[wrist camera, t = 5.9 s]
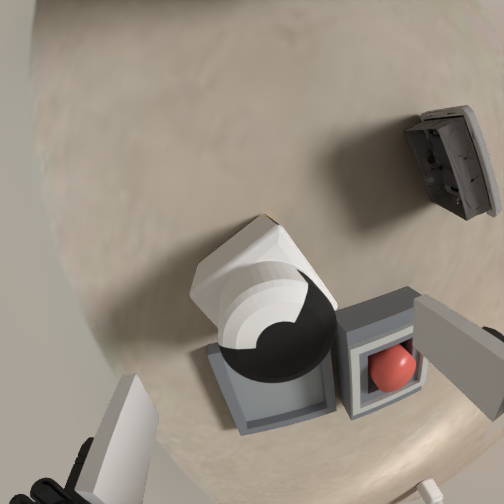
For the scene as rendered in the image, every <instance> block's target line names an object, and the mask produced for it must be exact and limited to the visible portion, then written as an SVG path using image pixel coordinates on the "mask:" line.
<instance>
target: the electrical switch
mask: <svg viewBox="0 0 504 504" xmlns="http://www.w3.org/2000/svg"><path fill="white" fill-rule="evenodd" d="M420 119H421V121H422V122H421V123H418V124H416V125H414V126H413V127H411V128H409V129H407V130H404V133H405V135H406V138H407V140H408V142H409V144H410V147H411V149H412V151H413V154H414V156H415V159H416V161H417V164H418V166H419V169H420V171H421V174H422V177H423V179H424V182H425V185H426V188H427V191H428V193H429V196H430V199H431V201H432V202H434V203H436V204H438V205H440V206H441V207H443V208H445V209H447V210H449V211H450V212H452V213H454V214H456V215H458V216H459V217H461V218H463V219H464V220H466V221H467V220H469V219H471V218H473V217H474V216H476V215H479V214H483V213H484V212H487V214H488V215H490V216H492V217H495V216H497V215H498V214H499V213H500V212H501V210H502V206H501V201H500V196H499V192H498V187H497V183H496V179H495V175H494V171H493V167H492V164H491V160H490V157H489V154H488V150H487V147H486V144H485V141H484V138H483V135H482V132H481V130H480V127H479V124H478V121H477V119H476V116H475V114H474V111H473V110H472V109H471V108H470V107H469V106H467V105H465V106H458V107H451V108H445V109H439V110H433V111H428V112H425V113H422V114H421V116H420ZM415 149H416V150H415ZM429 150H430V151H429ZM428 151H429V152H428ZM426 152H428V153H427V154H425V153H426ZM424 154H425V155H424ZM432 154H433V155H434V158H435V162H436V163H433V164H429V163H428V157H429V156H431V155H432ZM432 168H438V169H439V170H438V169H434V170H431V171H430V169H432ZM429 171H430V172H429ZM427 175H428V178H427ZM444 187H446V189H445V188H444ZM438 196H439V197H438ZM436 197H437V198H436ZM434 198H435V199H434ZM432 199H433V200H432ZM457 202H458V204H457Z"/></svg>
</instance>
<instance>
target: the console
mask: <svg viewBox="0 0 504 504" xmlns="http://www.w3.org/2000/svg"><path fill="white" fill-rule="evenodd" d="M419 296H421V294H419V293H418V292H416V291H415V290H413V289H411V288H410V287H408V286H407V287H405V288H402V289H399V290H397V291H394V292H391V293H388V294H386V295H383V296H380V297H377V298H374V299H371V300H368V301H365V302H362V303H359V304H356V305H353V306H350V307H347V308H344V309H341V310H338V311H335V314H336V319H337V331H336V337H335V340H334V342H335V352H336V361H337V372H338V383H339V396H340V400H341V402H342V404H343V406H344V407H345V409H346V411H347V413H348V415H349V417H350V419H351V420H354V419H357V418H359V417H362V416H364V415H367V414H369V413H372V412H374V411H377V410H379V409H381V408H384V407H386V406H388V405H391V404H393V403H395V402H397V401H399V400H401V399H403V398H406V397H408V396H410V395H412V394H414V393H416V392H418V391H420V390H421V386H422V385H424V384H425V380H426V374H427V368H428V360H427V359H426V358H425V357H424V356H423V355H422V354H421V353H420V352H419V351H418V350H417V349H415V348H414V347H413V346H412V344H413V320H414V298H417V297H419ZM396 344H400V345H401V346H402V347H403V348H404V349H405V350H406V351H407V352H408V353H409V354H410V355H411V356H412V357H413V358H414V359H415V361H416V369H415V372H414V374H413V376H412V377H411V378H410V380H409V381H408V382H407V383H406V384H405V385H404V386H402V387H401V388H399V389H398V390H396V391H393V392H382V391H381V390H380V389H379V388H378V387H377V385H376V384H375V382H374V381H373V380H372V378H371V377H370V375H369V374H368V356H369V355H372V354H374V353H377V352H379V351H382V350H384V349H387V348H389V347H392V346H394V345H396ZM207 356H208V359H209V362H210V364H211V367H212V369H213V372H214V374H215V377H216V379H217V382H218V384H219V387H220V389H221V392H222V394H223V396H224V399H225V401H226V403H227V406H228V408H229V410H230V413H231V415H232V417H233V419H234V422H235V424H236V426H237V428H238V431H239V433H240V435H241V436H243V435H248V434H253V433H258V432H262V431H267V430H271V429H275V428H280V427H284V426H287V425H291V424H295V423H299V422H302V421H306V420H309V419H313V418H316V417H319V416H322V415H325V414H328V413H331V412H334V411H336V399H335V388H334V378H333V368H332V359H331V350H330V351H329V353H328V354H327V356H326V357H325V358H324V359H323V360H322V362H321V363H320V364H319V365H318V366H317V367H315V368H314V369H313V370H312V371H310V372H309V373H307V374H305V375H304V376H302V377H299V378H297V379H295V380H291V381H288V382H283V383H262V382H257V381H253V380H250V379H247V378H245V377H243V376H241V375H240V374H238V373H237V372H235V371H234V370H233V369H232V368H231V367H230V366H229V365H228V364H227V363H226V361H225V360H224V358H223V356H222V354H221V352H220V348H219V344H218V343H214V344H209V345H208V349H207Z"/></svg>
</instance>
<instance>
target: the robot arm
mask: <svg viewBox="0 0 504 504" xmlns="http://www.w3.org/2000/svg"><path fill="white" fill-rule="evenodd" d="M412 346H413V347H414V348H415V349H417V350H418V351H419V352H420V353H421V354H422V355H423V356H424V357H425V358H426V359H427V360H429V361H430V362H431V363H432V364H433V365H434V366H435V367H436V368H437V369H438V370H439V371H440V372H441V373H443V374H444V375H445V376H446V377H447V378H448V379H449V380H450V381H451V382H452V383H453V384H454V385H455V386H456V387H457V388H458V389H459V390H460V391H461V392H463V393H464V394H465V395H466V396H467V397H468V398H469V399H470V400H471V401H472V402H473V403H474V404H475V405H476V406H477V407H478V408H479V409H480V410H481V411H482V412H483V413H484V414H485V415H486V416H487V417H488V418H489V419H490V420H491V421H492V422H493V421H494V420H496V419H497V418H498V417H499V416H500V415H502V414H503V413H504V336H503V334H501V333H500V332H498V331H496V330H495V329H492V328H488V327H485V326H484V327H483V328H481V327H479V326H477V325H476V324H474V323H473V322H471V321H470V320H468V319H466V318H465V317H463V316H462V315H460V314H458V313H457V312H455V311H454V310H452V309H450V308H449V307H447V306H445V305H444V304H442V303H440V302H439V301H437V300H435V299H434V298H432V297H430V296H429V295H427V294H424V295H421V296H419V297H417V298H414V320H413V344H412ZM159 416H160V415H159V413H158V412H157V410H156V408H155V407H154V405H153V403H152V401H151V400H150V398H149V396H148V394H147V393H146V391H145V389H144V387H143V385H142V383H141V382H140V380H139V378H138V376H137V374H136V373H135V374H128V375H122V376H121V379H120V381H119V383H118V385H117V387H116V389H115V392H114V394H113V396H112V398H111V400H110V403H109V405H108V407H107V410H106V412H105V414H104V417H103V419H102V421H101V423H100V426H99V428H98V430H97V433H96V435H95V438H93V437H90V438H88V439H87V440H86V441H85V443H84V444H83V445H82V446H81V448H80V451H79V453H78V457H77V458H76V460H75V464H74V465H73V468H72V470H71V473H70V475H69V477H68V480H67V483H66V485H65V488H64V489H63V488H62V487H61V486H60V485H59V484H58V483H57V482H55V481H54V480H53V479H51V478H42V479H39V480H38V481H36V482H35V483H34V484H33V486H32V488H31V491H30V497H31V498H32V499H33V500H34V501H36V502H34V501H32V500H31V499H30V498H29V497H28V496H26V495H24V494H18V495H15V496H14V497H13V498H12V499H11V501H10V503H9V504H142V503H143V497H144V491H145V486H146V480H147V474H148V469H149V464H150V459H151V454H152V449H153V444H154V439H155V435H156V430H157V425H158V421H159Z"/></svg>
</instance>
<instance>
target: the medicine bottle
mask: <svg viewBox="0 0 504 504" xmlns="http://www.w3.org/2000/svg"><path fill="white" fill-rule="evenodd" d="M189 296H190V298H191V300H192V301H193V302H194V303H195V304H196V305H197V306H198V307H199V308H200V309H201V310H202V312H203V313H204V314H205V315H206V316H207V317H208V318H209V319H210V320H211V321H212V322H213V323H214V324H215V325H216V327H217V328H218V344H219V348H220V352H221V354H222V356H223V358H224V360H225V361H226V363H227V364H228V365H229V366H230V367H231V368H232V369H233V370H234V371H235V372H237V373H238V374H240V375H241V376H243V377H245V378H247V379H250V380H253V381H257V382H262V383H283V382H288V381H291V380H295V379H297V378H299V377H302V376H304V375H305V374H307V373H309V372H310V371H312V370H313V369H314V368H315V367H317V366H318V365H319V364H320V363H321V362H322V360H323V359H324V358H325V357H326V356H327V354H328V353H329V351H330V349H331V347H332V345H333V343H334V340H335V337H336V331H337V319H336V314H335V310H336V309H337V307H338V305H337V302H336V301H335V299H334V298H333V297H332V295H331V294H330V292H329V291H328V289H327V288H326V287H325V285H324V284H323V282H322V281H321V279H320V278H319V277H318V275H317V274H316V272H315V271H314V270H313V268H312V267H311V265H310V264H309V263H308V261H307V260H306V258H305V257H304V256H303V254H302V253H301V251H300V250H299V249H298V247H297V246H296V245H295V243H294V242H293V240H292V239H291V238H290V236H289V235H288V234H287V232H286V231H285V230H284V228H283V227H282V226H281V225H279V224H278V223H277V222H275V221H274V220H273V219H271V218H270V217H269V216H267V215H266V214H262V215H260V216H259V217H257V218H256V219H255V220H253V221H252V222H251V223H249V224H248V225H247V226H246V227H244V228H243V229H242V230H240V231H239V232H238V233H237V234H235V235H234V236H233V237H231V238H230V239H229V240H228V241H226V242H225V243H224V244H222V245H221V246H220V247H219V248H217V249H216V250H215V251H213V252H212V253H211V254H210V255H208V256H207V257H206V258H205V259H203V260H202V261H201V262H199V264H198V266H197V269H196V272H195V276H194V279H193V282H192V285H191V289H190V292H189Z"/></svg>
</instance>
